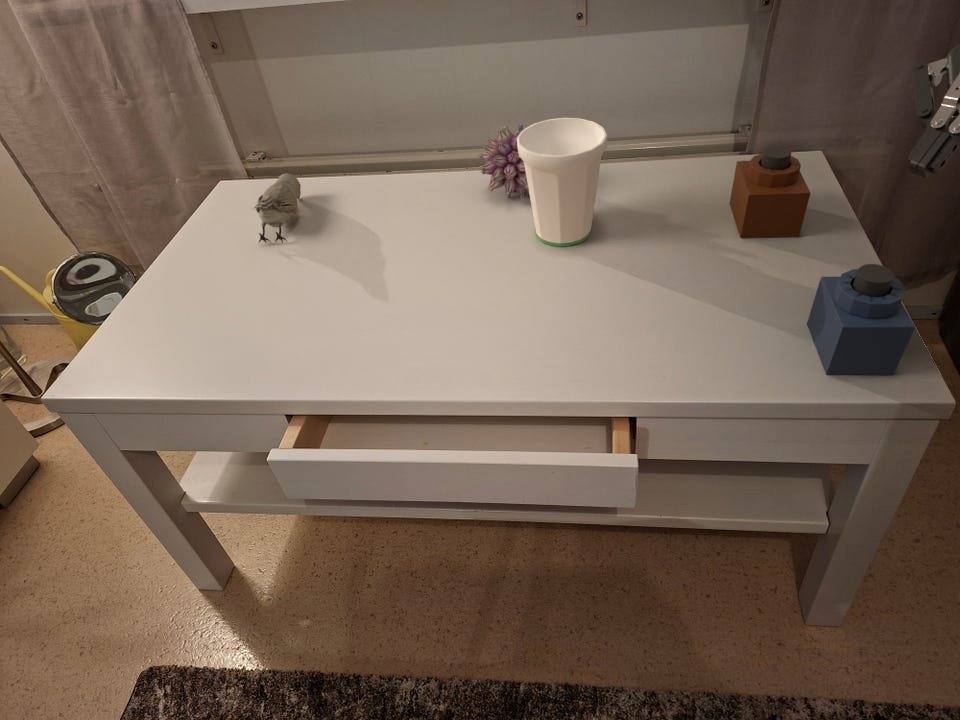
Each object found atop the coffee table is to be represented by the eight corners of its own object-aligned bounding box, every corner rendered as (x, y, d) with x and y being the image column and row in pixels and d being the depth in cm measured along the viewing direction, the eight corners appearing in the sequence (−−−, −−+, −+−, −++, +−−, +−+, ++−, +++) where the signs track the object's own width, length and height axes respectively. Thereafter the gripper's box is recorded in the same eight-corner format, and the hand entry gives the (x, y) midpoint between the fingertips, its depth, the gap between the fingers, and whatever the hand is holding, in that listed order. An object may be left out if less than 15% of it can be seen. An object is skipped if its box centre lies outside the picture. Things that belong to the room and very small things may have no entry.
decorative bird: (313, 197, 117) (301, 158, 112) (288, 247, 106) (274, 206, 101) (284, 199, 118) (270, 160, 113) (256, 248, 106) (240, 208, 101)
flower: (537, 181, 116) (565, 197, 106) (473, 195, 114) (496, 213, 104) (531, 113, 110) (560, 123, 100) (464, 127, 108) (487, 139, 98)
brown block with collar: (799, 237, 93) (814, 179, 87) (740, 238, 94) (751, 181, 88) (784, 201, 100) (797, 145, 94) (729, 203, 102) (738, 148, 96)
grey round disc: (790, 171, 90) (794, 157, 89) (763, 172, 91) (766, 158, 89) (785, 159, 93) (788, 145, 91) (758, 160, 93) (761, 146, 92)
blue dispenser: (806, 323, 80) (825, 262, 74) (868, 323, 79) (892, 261, 73) (825, 374, 73) (848, 312, 67) (893, 375, 72) (922, 311, 66)
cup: (546, 204, 107) (543, 112, 97) (617, 220, 101) (622, 124, 91) (507, 243, 100) (499, 148, 89) (582, 262, 94) (582, 163, 84)
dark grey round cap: (848, 279, 72) (853, 264, 70) (882, 279, 71) (888, 263, 70) (857, 298, 69) (863, 282, 68) (892, 298, 69) (899, 282, 67)
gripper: (966, -39, 60) (843, 133, 64) (1141, -18, 51) (986, 180, 55) (976, 10, 65) (862, 166, 69) (1136, 37, 56) (995, 213, 60)
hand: (918, 172), depth 62 cm, fingers closed
